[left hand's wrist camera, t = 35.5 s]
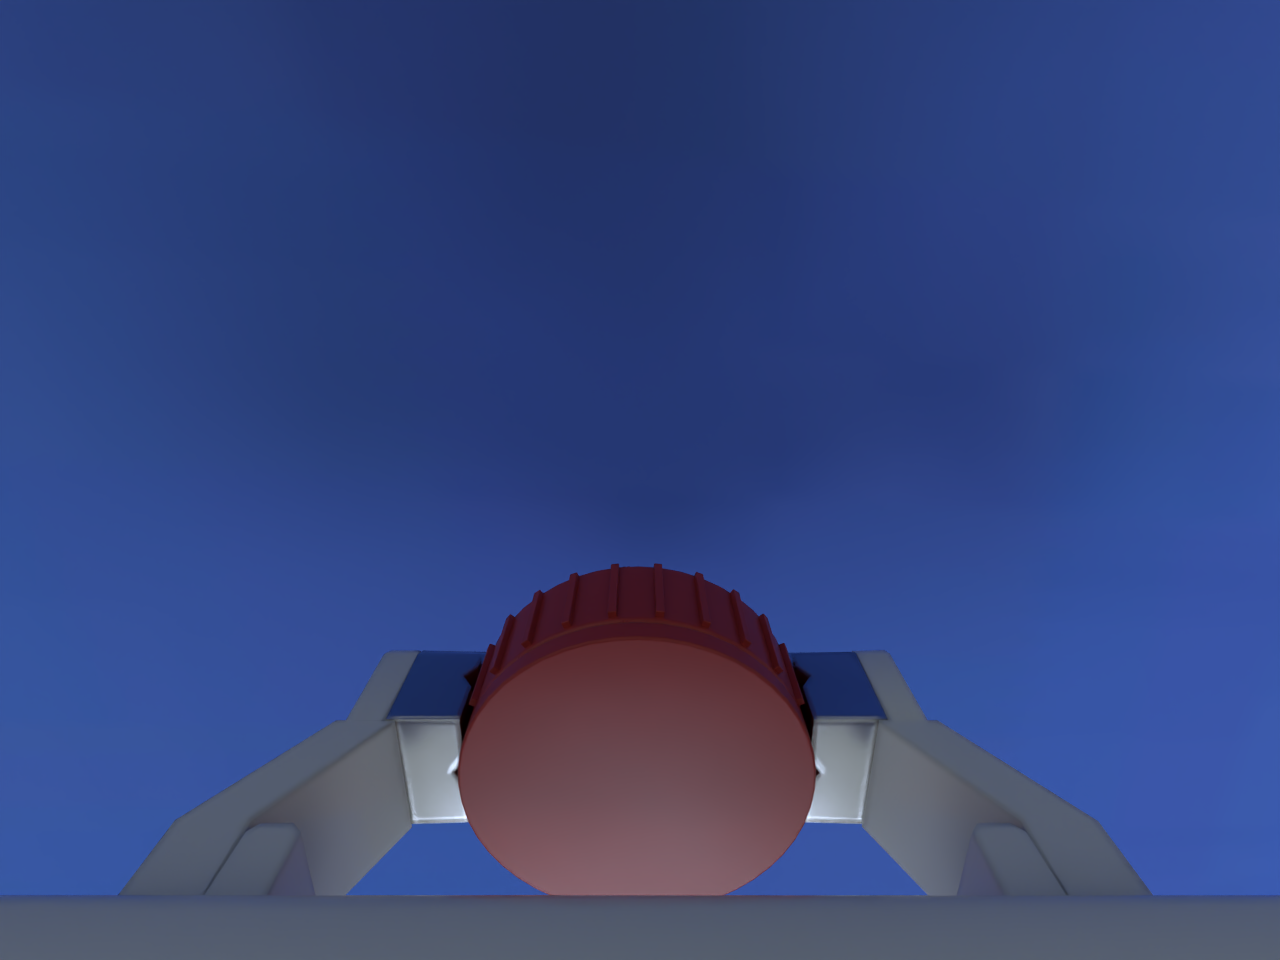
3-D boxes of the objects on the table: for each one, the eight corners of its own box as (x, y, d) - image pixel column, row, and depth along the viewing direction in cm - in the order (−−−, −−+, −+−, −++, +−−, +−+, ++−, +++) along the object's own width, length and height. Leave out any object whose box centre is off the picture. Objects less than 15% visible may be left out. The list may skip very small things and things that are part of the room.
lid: (424, 623, 10) (381, 705, 8) (734, 512, 9) (755, 577, 8) (558, 846, 12) (545, 951, 10) (831, 765, 11) (864, 862, 9)
